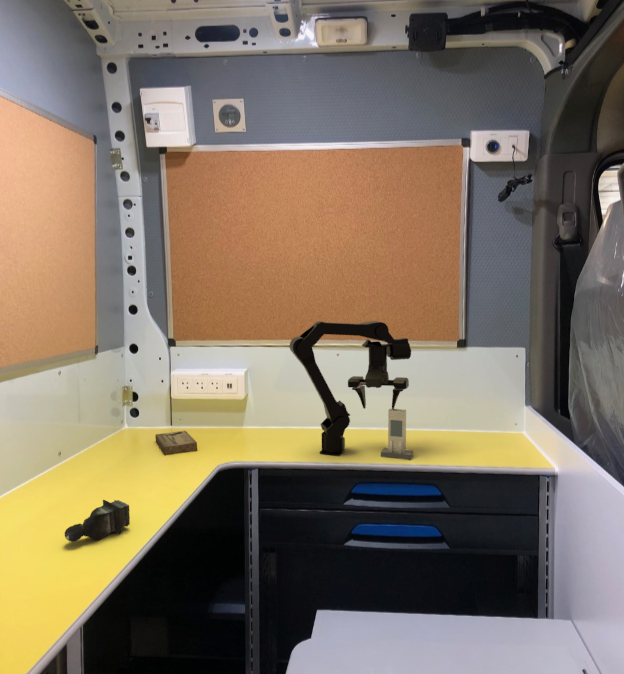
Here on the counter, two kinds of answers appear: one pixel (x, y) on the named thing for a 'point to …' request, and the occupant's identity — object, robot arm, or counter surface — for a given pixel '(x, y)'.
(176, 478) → the counter surface
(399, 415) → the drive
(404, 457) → the dark grey pegged block
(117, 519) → the dark statue fragment
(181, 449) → the box
